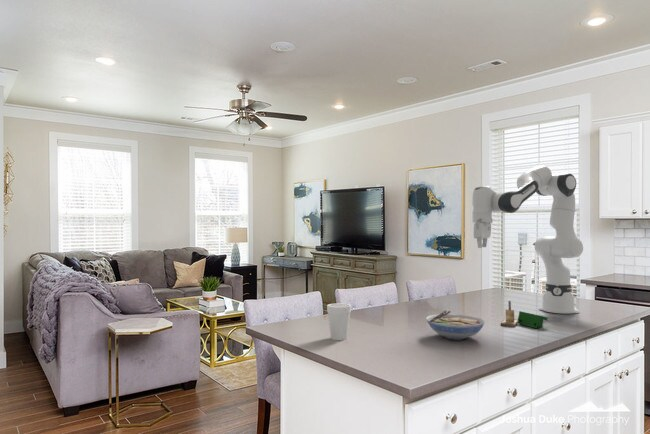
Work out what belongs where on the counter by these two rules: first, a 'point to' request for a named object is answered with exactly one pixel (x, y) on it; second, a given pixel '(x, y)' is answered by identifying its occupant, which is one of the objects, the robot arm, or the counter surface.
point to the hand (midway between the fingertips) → (482, 247)
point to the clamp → (531, 319)
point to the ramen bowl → (455, 325)
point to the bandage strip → (509, 323)
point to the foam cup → (339, 320)
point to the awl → (509, 313)
